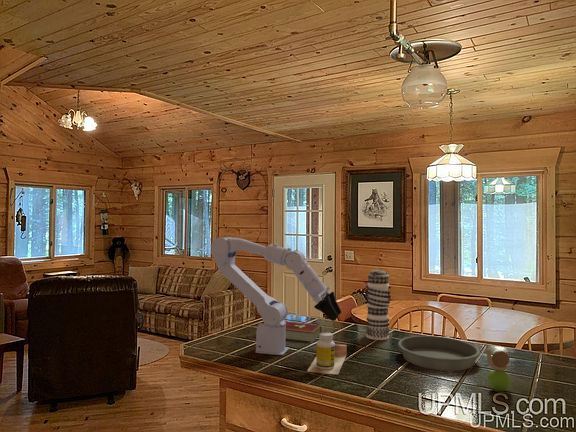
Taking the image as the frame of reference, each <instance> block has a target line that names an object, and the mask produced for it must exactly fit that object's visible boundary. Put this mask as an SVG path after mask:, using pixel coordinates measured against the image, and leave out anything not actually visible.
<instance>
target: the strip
mask: <svg viewBox="0 0 576 432" xmlns="http://www.w3.org/2000/svg"><path fill="white" fill-rule="evenodd" d="M347 347H348V346H347V344H340V343H335V361H334V368H333V369H328V370H326V369H320V368H318V367H317V366H316V357H314V359H313V361H312V362H311V364H310V365H309V367H308V369H307V370H306V372H307V373H315V374H316V373H317V374H325V375H336V376H338V375H339V374H340V371H341V370H342V367H343V364H344V362H345V360H346V357H347V355H348V354H347Z"/></svg>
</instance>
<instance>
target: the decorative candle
mask: <svg viewBox="0 0 576 432" xmlns="http://www.w3.org/2000/svg"><path fill="white" fill-rule="evenodd" d="M389 276H390V274H389V273H388V272H387V271H386V270H381V269H374V270H373V269H372V270H371V271H369V273H368V274H367V284H366V285H365V289H366V290H365V292H366V296H365V297H366V300H365V301H366V307H367V313H366V314H367V315H366V317H365V319H366V322H365V323H366V325H367V326H366V327H365V329H366V331H365V333H366V335H365V336H366V338H367V339H369V340H370V339H371V340H373V341H374V340H375V341H386V340H388V339H390V336H389V335H390V332H389V331H390V327H389V326H390V323H389V322H390V319H389V315H390V314H389V307H390V303H391V301H390V300H389V299H391V295H389V294H391V291H390V289H391V288H392V287H391V286H390V283H389V281H390V280H389Z"/></svg>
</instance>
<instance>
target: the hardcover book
mask: <svg viewBox="0 0 576 432" xmlns="http://www.w3.org/2000/svg"><path fill="white" fill-rule="evenodd" d="M285 322H286V339H287V340H295V341H303V342H304V341H306V342H313V341H314V340H315V339H316V338H318V337H319V334H320V333H322V332H323V328H322V326H323V325H322V324H313V323H303V322H302V323H301V322H293V321H285ZM286 339H285V340H286Z"/></svg>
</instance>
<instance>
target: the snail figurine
mask: <svg viewBox="0 0 576 432" xmlns="http://www.w3.org/2000/svg"><path fill="white" fill-rule="evenodd" d="M484 345H485V347H486V348H485V353H486V359H487V363H488V365H489V367H490V368H491V369H493V370H491V371H490V372H489V373H488V375H487V382H488V385H489V386H490V387H491V388H492V389H493V390H495V391H497V392H501V393H502V392H506V391H507V390H508V389H509V388H510V387H511V384H512V379H511V377H510V375H509V373H508V372H506V370H508V369H509V367H510V366H509V362H510V356H509V354H508V353H507V352H506V351H504V350H497V351H495V352H493V354H492V349H490V348H489V347H490V345H489V344H486V343H485V344H484Z"/></svg>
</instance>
